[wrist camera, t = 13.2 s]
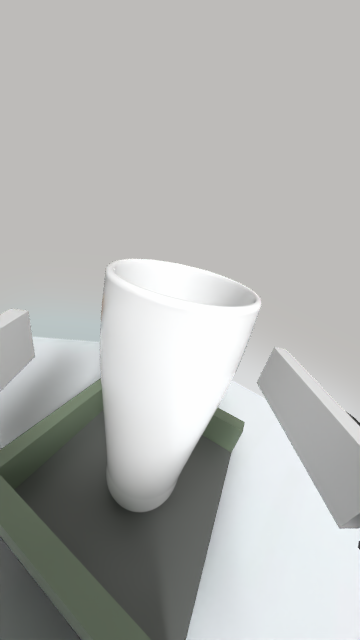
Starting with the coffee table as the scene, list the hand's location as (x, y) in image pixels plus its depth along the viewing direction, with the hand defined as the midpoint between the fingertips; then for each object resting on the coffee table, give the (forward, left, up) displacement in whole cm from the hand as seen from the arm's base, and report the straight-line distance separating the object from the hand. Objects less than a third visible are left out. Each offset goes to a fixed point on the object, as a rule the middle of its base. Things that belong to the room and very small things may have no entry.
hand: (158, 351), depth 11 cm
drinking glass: (+1, 0, -11) cm, 11 cm away
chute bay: (0, -1, -11) cm, 11 cm away
